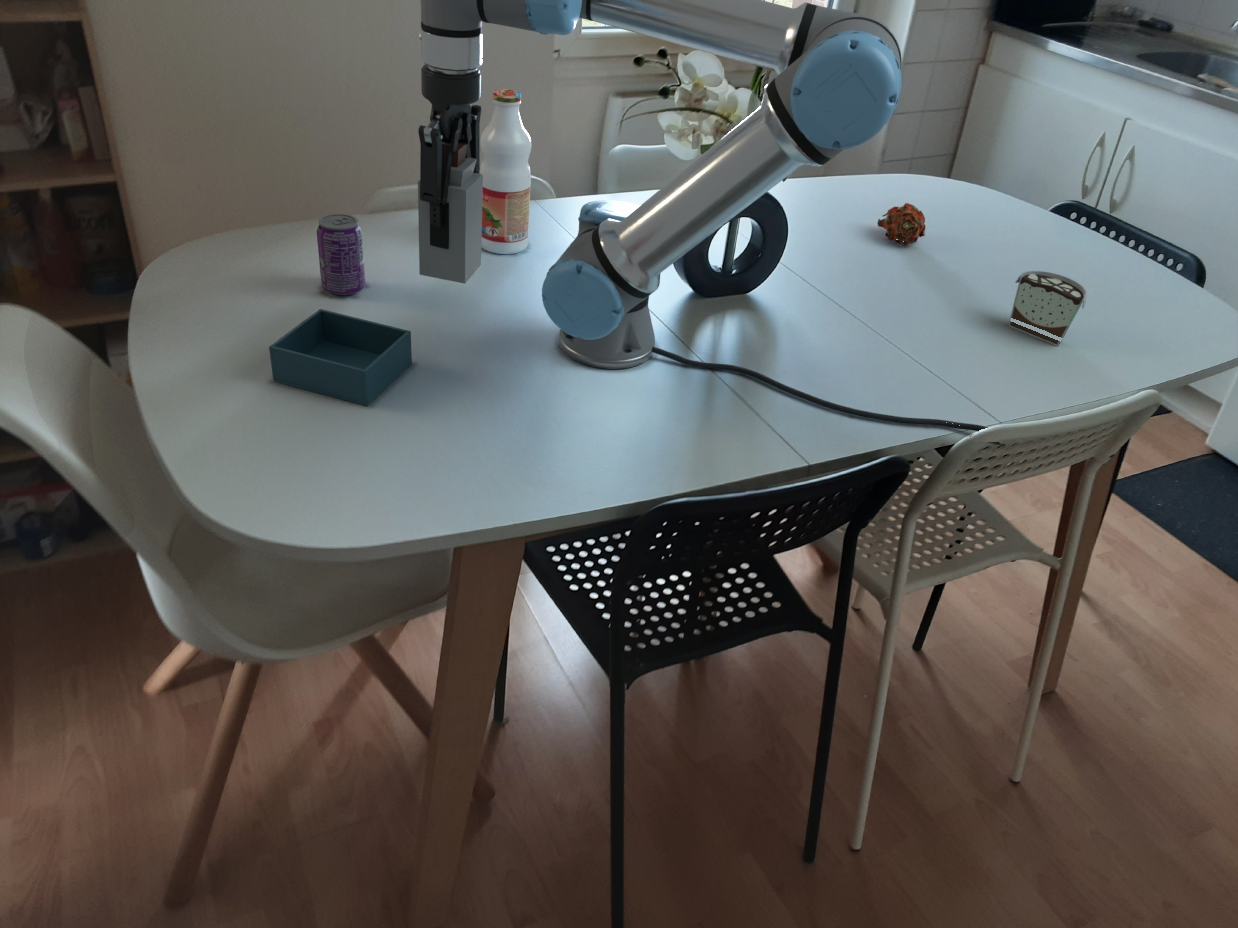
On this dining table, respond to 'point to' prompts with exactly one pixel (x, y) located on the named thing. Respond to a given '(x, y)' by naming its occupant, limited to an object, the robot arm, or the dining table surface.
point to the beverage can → (341, 254)
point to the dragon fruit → (903, 224)
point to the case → (341, 356)
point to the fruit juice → (505, 177)
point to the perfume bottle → (455, 224)
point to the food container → (1046, 303)
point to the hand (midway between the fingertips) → (450, 238)
